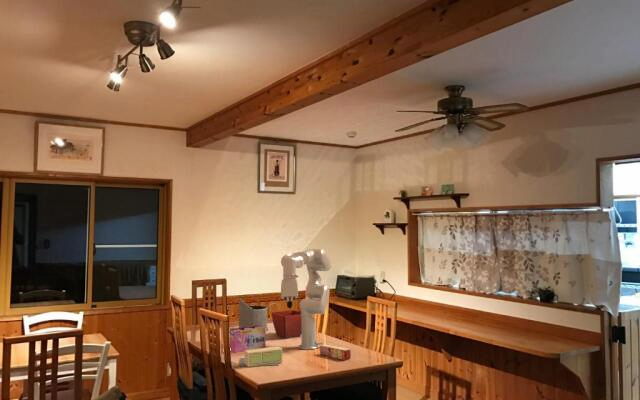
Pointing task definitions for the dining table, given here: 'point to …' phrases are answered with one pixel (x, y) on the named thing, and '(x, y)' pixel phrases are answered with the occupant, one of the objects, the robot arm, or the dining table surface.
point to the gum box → (247, 338)
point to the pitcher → (253, 315)
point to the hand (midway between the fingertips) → (289, 307)
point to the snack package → (335, 352)
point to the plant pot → (287, 323)
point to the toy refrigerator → (263, 356)
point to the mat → (242, 364)
